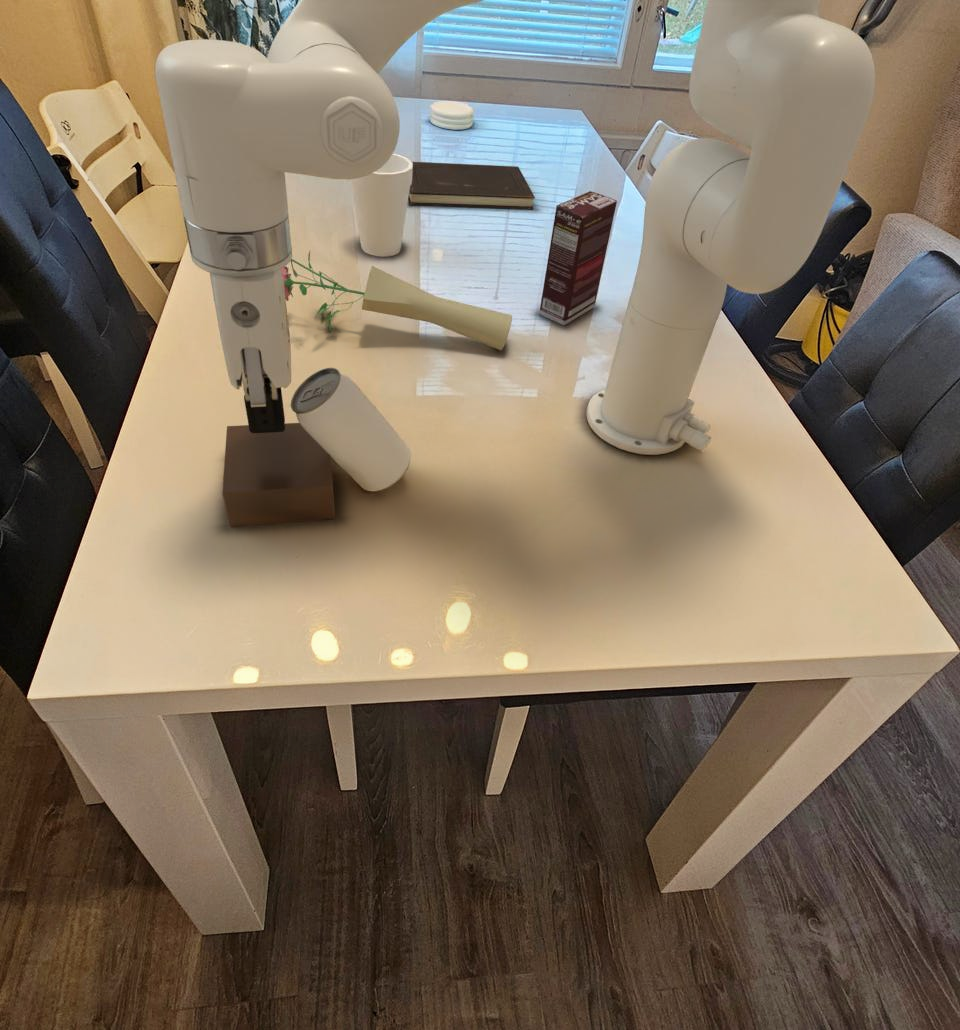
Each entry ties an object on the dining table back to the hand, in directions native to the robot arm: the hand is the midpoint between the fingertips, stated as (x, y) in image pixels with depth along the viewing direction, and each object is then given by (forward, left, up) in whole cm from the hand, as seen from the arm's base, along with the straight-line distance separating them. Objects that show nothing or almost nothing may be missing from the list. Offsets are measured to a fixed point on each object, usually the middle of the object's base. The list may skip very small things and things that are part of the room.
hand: (267, 427), depth 67 cm
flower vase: (+15, -29, -8) cm, 34 cm away
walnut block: (0, 0, -8) cm, 8 cm away
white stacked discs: (+71, -105, -8) cm, 127 cm away
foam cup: (+34, -47, -8) cm, 59 cm away
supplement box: (+2, -54, -8) cm, 55 cm away
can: (-7, -9, -6) cm, 13 cm away
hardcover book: (+42, -77, -8) cm, 88 cm away
